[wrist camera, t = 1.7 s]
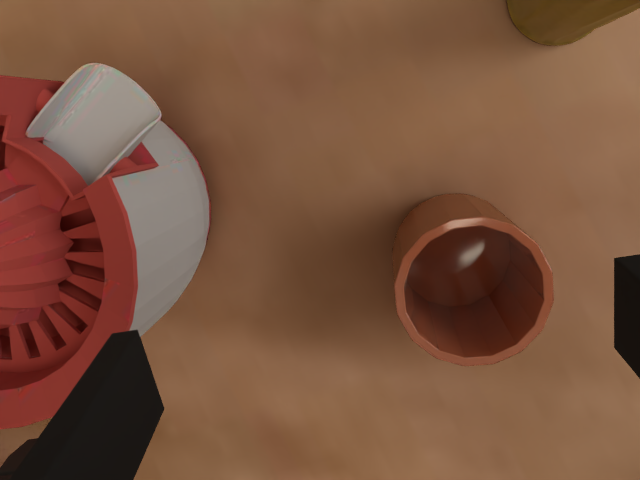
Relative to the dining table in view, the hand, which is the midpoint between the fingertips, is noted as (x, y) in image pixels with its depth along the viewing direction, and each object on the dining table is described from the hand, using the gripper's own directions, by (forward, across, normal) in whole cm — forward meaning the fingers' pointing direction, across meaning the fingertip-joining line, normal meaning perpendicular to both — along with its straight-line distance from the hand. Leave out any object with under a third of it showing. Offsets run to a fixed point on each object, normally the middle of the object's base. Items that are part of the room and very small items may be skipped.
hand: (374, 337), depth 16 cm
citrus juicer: (+24, +15, 0) cm, 29 cm away
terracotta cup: (+22, -6, +8) cm, 24 cm away
